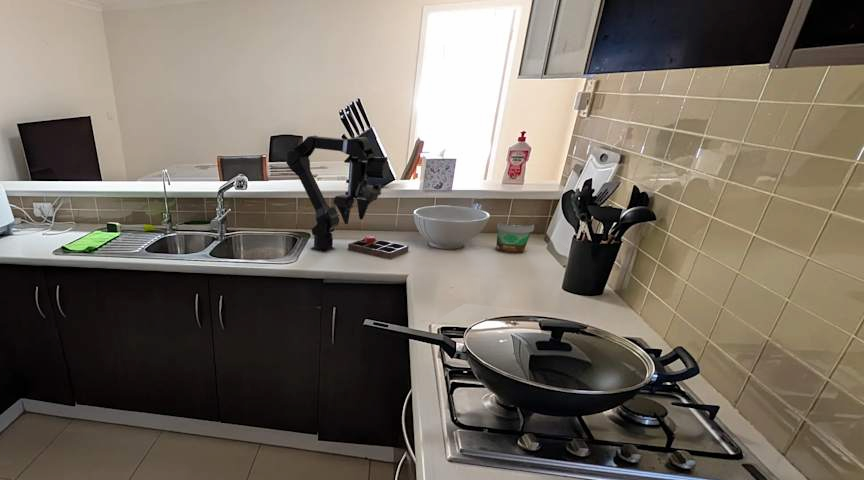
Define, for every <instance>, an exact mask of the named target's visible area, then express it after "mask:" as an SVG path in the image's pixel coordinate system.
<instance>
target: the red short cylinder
mask: <svg viewBox="0 0 864 480" xmlns="http://www.w3.org/2000/svg"><path fill="white" fill-rule="evenodd" d="M364 238H365V240H364V242H369V243H373V242H375V239H376V236H374V235H365V236H364Z"/></svg>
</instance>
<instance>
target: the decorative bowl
mask: <svg viewBox="0 0 864 480" xmlns="http://www.w3.org/2000/svg"><path fill="white" fill-rule="evenodd" d="M489 219H490V214H489V212H487V211H484V210H482V209H479V208H475V207H467V206H459V205H430V206H424V207H423V206H422V207H419V208H417V209H414V211H413V220H414V223H415V226H416V228H417V230H418V232H419V233H420V236H421V237H423V238H424V239H425V240H426V241H427V242H428V244H429V246H431V247H432V248H437V249H442V250H443V249H444V250H456V249H461V248H462V247H464V244H466V243H468V242H470V241H472V240H473V239H474V238H476V237H477V236H478V235H479V234H480V233H481V232H482V231H483V230H484V228H485V226H486V225H487V224H488V221H489Z"/></svg>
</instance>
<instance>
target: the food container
mask: <svg viewBox="0 0 864 480" xmlns="http://www.w3.org/2000/svg"><path fill="white" fill-rule="evenodd" d="M496 229H497V235H496V244H495V250H496V251H497V252H500V253H504V254H510V255H511V254H512V255H516V254H523V253H524V252H525V249H526V246H527V244H528V241H529V239H530V236H531V233H532V232H534V230H535V225H534V224H532V225H531V224H530V225H521V224H517V223H514V224H513V223H512V224H505V223H501V222H500V221H498V223H497V224H496Z"/></svg>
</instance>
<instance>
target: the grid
mask: <svg viewBox="0 0 864 480" xmlns="http://www.w3.org/2000/svg"><path fill="white" fill-rule="evenodd" d="M364 240H365V237H363V238H361V239H358V240H356V241H353V242H350V243H348V245H347V250H348V251H352V252H357V253H360V254H365V255H369V256H373V257H374V256H375V257H378V258H383V259H386V260H391V259H393V258H396V257H398V256H401V255H403V254H406V253H409V247H410V245H407V244H402V243H396V242H392V241H388V240H384V239H383V240H382V239H377V238H375V242H373V243H369V242H364Z"/></svg>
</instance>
